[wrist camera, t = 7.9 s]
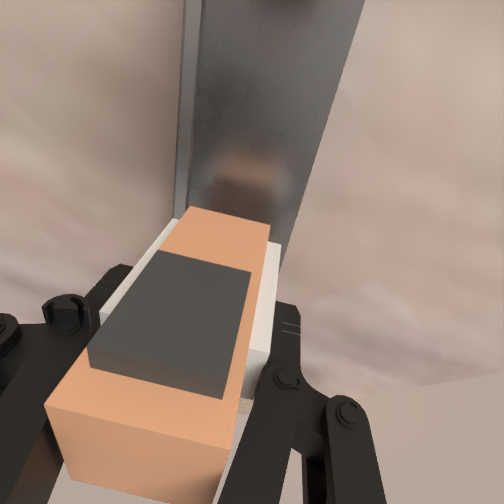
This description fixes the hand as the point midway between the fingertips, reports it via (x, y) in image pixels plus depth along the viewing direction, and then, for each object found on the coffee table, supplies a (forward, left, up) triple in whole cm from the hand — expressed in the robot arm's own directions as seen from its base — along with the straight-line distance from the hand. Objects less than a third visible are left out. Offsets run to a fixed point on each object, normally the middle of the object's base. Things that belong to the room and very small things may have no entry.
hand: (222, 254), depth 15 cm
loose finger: (0, -1, 0) cm, 1 cm away
